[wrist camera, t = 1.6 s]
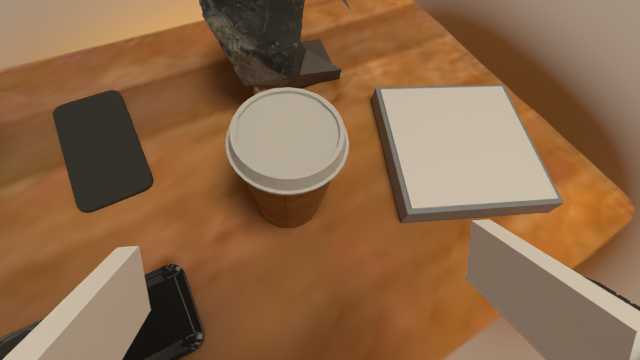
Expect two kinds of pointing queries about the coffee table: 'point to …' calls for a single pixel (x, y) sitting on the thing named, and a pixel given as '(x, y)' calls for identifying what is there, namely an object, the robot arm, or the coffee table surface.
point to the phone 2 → (161, 319)
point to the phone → (101, 151)
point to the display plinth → (460, 154)
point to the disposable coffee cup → (287, 151)
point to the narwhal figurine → (268, 43)
